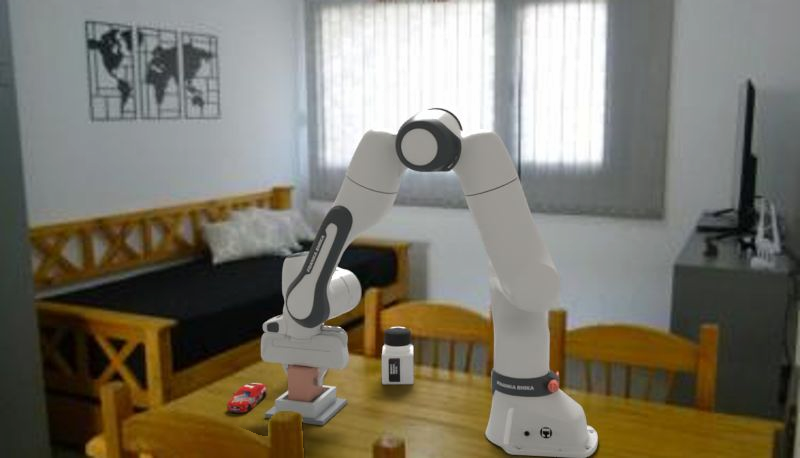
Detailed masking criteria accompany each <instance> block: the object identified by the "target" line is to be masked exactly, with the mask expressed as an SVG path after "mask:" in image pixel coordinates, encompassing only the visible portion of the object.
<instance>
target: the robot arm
mask: <svg viewBox="0 0 800 458" xmlns="http://www.w3.org/2000/svg"><path fill="white" fill-rule="evenodd" d="M408 169H409V170H412V171H414V172H417V173H418V172H419V173H441V172H443V173H445V172H446V173H448V172H451V171H453V173H454V174H455V175H456V177H457V179H458V182H459V184H460V187H461V189H462V193H463V195H464V198H465V200H466V201H465V202H466V203H467V207H468V209H469V212H470V214H471V215H470V216H471V218H472V220H473V221H472V222H473V223H474V226H475V227H474V228H475V229H476V232H477V235H478V236H479V238H480V240H481V242H482V244H483V247H484V249H485V251H486V253H487V256H488V258H489V259H488V263H487V271H488V280H489V282H488V283H489V295H490V305H491V307H490V308H491V314H492V315H491V316H492V323H493V339H494V340H493V366H492V369H491V375H490V389H491V395H492V398H491V399H492V401H491V409H490V414H489V419H488V423H487V426H486V430H485V437H486V439H488V440H489V441H490V442H491V443H492V444H495V445H496V446H499V447H500V448H502V449H503V450H504V452H505V453H507V454H508V455H513V456H515V455H516V456H534V457H535V456H536V457H554V458H556V457H557V458H587V457H590V456H592V455H593V454H594V453H595V452H596V450H597V448H598V444H599V437H598V432H597V431H596V430H595V428H593V426H591V425H588V424H587V419H586V414H585V411H584V409H583V407H582V406H581V405H580V404H579V402H577V401H575V400H574V399H573V398H572V397H570V396H569V395H567V393H565V392H564V391H563V390H562V389H560V376H559V375H560V373H559V371H558V370H557V371H556V373H555V372H554V371H553V370H551V369H550V341H551V340H550V339H551V337H550V335H551V334H550V329H549V326H548V320H547V316H546V311H547V310H550V309H552V307H553V306H555V305H556V303H557V302H558V301H559V299H560V297H561V294H562V289H563V287H562V286H563V284H562V280H561V277H560V274H559V272H558V270H557V268H556V265H555V264H554V260H553V258H552V256H551V254H550V251H549V249H548V247H547V244H546V242H545V240H544V238H543V236H542V233H541V232H540V230H539V227H538V226H537V224H536V221H535V219H534V217H533V215H532V213H531V209H530V207H529V206H530V205H529V204H528V200H527V198H526V195H525V192H524V190H523V185H522V184H521V180H520V177H519V175H518V171H517V169H516V166H515V164H514V162H513V158H512V157H511V155H510V152H509V151H508V149H507V147H506V145H505V143H504V142H503V140H502V138H501V137H500V135H499V134H498V133H497V132H496V131H493V130H492V129H489V128H488V129H486V128H485V129H484V128H481V129H474V130H471V131H464V130H463V126H462V124H461V121H460V119H459V118H458V117H457V116H456V115H455V114H454V113H453V112H452V111H450V110H448V109H445V108H439V107H432V108H428V109H426V110H421V111H419V112H416V113H415V114H414V115H412V116H411V117H409V119H406V121H404V123H402V124H401V126H400V127H399V129H398V130H397V131H396V130H394V129H393V130H392V129H390V128H386V127H385V128H384V127H375V128H374V127H373V128H371V129H369V130H368V131H366V132H365V133H364V134H363V135H362V138H361V139H360V141H359V143H358V145H357V147H356V148H355V150H354V153H353V154H352V157H351V160H350V162H349V166H348V167H347V171H346V173H345V177H344V179H343V182H342V185H341V187H340V190H339V191H338V193H337V196H336V197H335V200H334V202H333V204H332V205H331V207H330V209H329V211H328V212H327V213H326V215H325V216H324V218H323V221H322V223H321V225H320V227H319V229H318V231H317V233H316V234H315V235H316V236H315V237H314V239H313V242H312V245H311V247H310V249H309V250H305V251H301V252H296V253H292V254H289V255H288V256H287V257H286V258H285V259H284V261H283V265H282V270H281V271H282V272H281V280H282V281H281V291H282V292H281V293H282V296H283V299H284V300H283V301H284V304H283V307H282V314H280V315H277V316H273V317H272V318H269V319H268V320H267V321H265V322H264V323H263V324H262V330H263V332H264V333H263V334H262V335H261V340H260V357H261V359H262V361H264V362H266V363H274V364H281V365H282V369H283V371H284V373H285V374H286V376H287V377H288V370H287V369H288V368H289V367H291V366H292V365H300V366H309V367H318V372H320V374H319V376H317V377H316V378H314V386H322V385H323V384H324V377H325V375H326V373H327V372H328V371H329V370H336V371H337V370H338V371H339V370H340V371H341V370H344V369H345V368H346V367H347V365H348V364H349V362H350V358H349V357H350V355H349V349H348V348H349V347H348V339H349V338H348V336H349V335H348V333H347V332H346V331H345V330H344V329H343V328H342V327H340V326H330V325H325V323H326V322H327V321H329V320H331V319H334V318H336V317H340V316H342V315H343V314H346V313H348V312H350V311H352V310H353V309H355V308H356V307H358V306H359V304H360V302H361V299H362V294H363V293H362V291H363V290H362V285H361V282H360V279H359V277H357V275H356V274H355V273H354V272H352V271H351V270H350V269H346V268H341V267H339V266H338V265H339V263H340V261H341V258H342V256H343V254H344V252H345V251H346V249H347V248H348V246H349V245H350V244H352V242H353V241H355V240H356V239H357V238H358V237H359V236H360V235H362V234H363V233H365V232H367V231H368V230H370V229H371V228H373V227H375V226H377V225H379V224H380V223H381V222H382V221H383V220H385V219H386V217H387V215H388V214H389V213H390V211H391V209H392V207H393V206H394V203H395V201H396V198H397V195H398V192H399V190H400V187H401V184H402V180H403V178H404V176H405V174H406V172H407V170H408ZM327 370H328V371H327ZM326 371H327V372H326Z"/></svg>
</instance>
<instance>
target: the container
mask: <svg viewBox="0 0 800 458" xmlns="http://www.w3.org/2000/svg"><path fill="white" fill-rule="evenodd" d="M383 333H384V335H383V337H384V339H383V340H384V345H383V346H382V350H381V352H382V353H381V382H382V385H413V384H414V383H415V381H414V379H415V378H414V376H415V375H414V372H415V371H414V365H415V364H414V363H415V362H414V345H413V344H412V331H411V330H410V329H409V328H406V327H405V326H404V327H403V326H392V327H389V328H386V329H385V330H384V332H383Z"/></svg>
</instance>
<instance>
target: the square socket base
mask: <svg viewBox="0 0 800 458" xmlns="http://www.w3.org/2000/svg"><path fill="white" fill-rule="evenodd" d="M347 404H348V399H347V398H339V397H337V386H334V385H333V386H331V385H322V392H320V393H319V394H318V395H317V396H316V397H314V398H313V399H312V400H311V401H309V402H307V401H299V400H291V399H288V390H287V391H286V392H284V393H283V394H281V395H280V396H279V397H277V398H275V400H274V406H272V407H271V408H270V409H269V410H267V411H265V413H264V418H267V419H271V418H270V417H271V416H273V415H274V414H275V413H277V412H279V411H293V412H297V413H300V414H301V415H302V419H303V423H304V424H309V425H317V426H324V425H325V424H326V423H328V422H329V421H330V420H331V419H332V418H333V417H334V416H335V415H336V414H337V413H339V411H340V410H341V409H343V408H344V407H345V406H346V405H347ZM329 419H330V420H329Z"/></svg>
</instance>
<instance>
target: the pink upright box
mask: <svg viewBox="0 0 800 458" xmlns="http://www.w3.org/2000/svg"><path fill="white" fill-rule="evenodd" d="M287 370H288V376H287V391H288V399H291V400H299V401H307V402H309V401H311V400H312V399H313V398H314V397H316V396H317V395H318V394H319V393H320V392H322V386H314V378H316V377H317V376H319V374H320V372H318V367H309V366H300V365H292V366H291V367H289V368H288V369H287Z"/></svg>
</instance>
